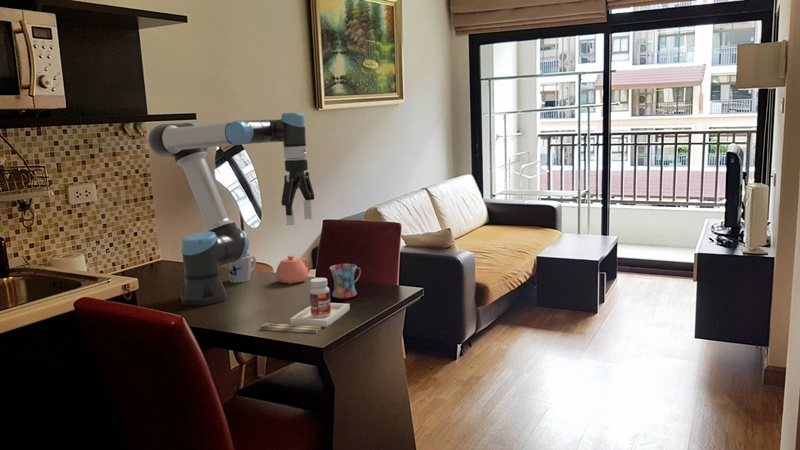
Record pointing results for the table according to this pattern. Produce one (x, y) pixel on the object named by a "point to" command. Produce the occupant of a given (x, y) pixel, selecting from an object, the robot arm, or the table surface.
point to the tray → (309, 320)
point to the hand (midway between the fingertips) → (300, 221)
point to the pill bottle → (320, 298)
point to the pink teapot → (292, 270)
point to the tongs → (290, 328)
